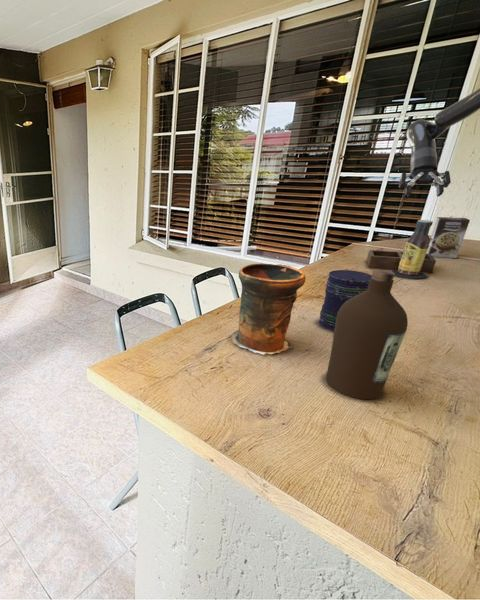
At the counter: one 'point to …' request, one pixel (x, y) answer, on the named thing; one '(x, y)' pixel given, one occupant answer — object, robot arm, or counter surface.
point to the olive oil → (367, 339)
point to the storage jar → (341, 294)
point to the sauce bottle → (415, 249)
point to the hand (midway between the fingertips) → (424, 195)
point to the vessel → (266, 306)
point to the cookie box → (447, 237)
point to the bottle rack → (395, 261)
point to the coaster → (419, 276)
